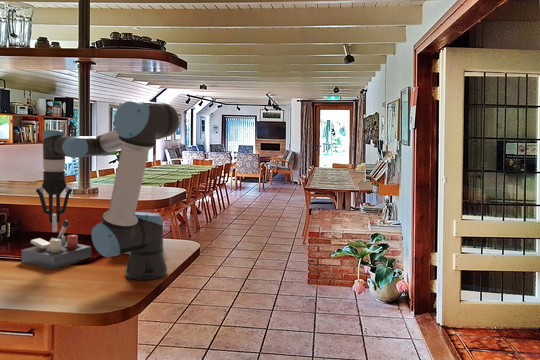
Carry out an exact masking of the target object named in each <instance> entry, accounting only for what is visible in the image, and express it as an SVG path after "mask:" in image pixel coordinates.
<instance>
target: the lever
mask: <svg viewBox="0 0 540 360" xmlns="http://www.w3.org/2000/svg"><path fill="white" fill-rule="evenodd" d="M61 225H62V226H61V229H60V231H59V233H58V235H57V238H56V239H62V237H63V236H64V235H65V232H66V230H67V228H68V227H69V226H70V221H69V220H67V219H65V220H63V221H62V222H61Z"/></svg>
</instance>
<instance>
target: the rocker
mask: <svg viewBox="0 0 540 360" xmlns="http://www.w3.org/2000/svg"><path fill="white" fill-rule="evenodd" d="M30 244H31V245H34V246H38V247H41V248H47V247H50V241H47V240H45V239H43V238H41V237H39V238H34V239H31V240H30Z"/></svg>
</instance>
